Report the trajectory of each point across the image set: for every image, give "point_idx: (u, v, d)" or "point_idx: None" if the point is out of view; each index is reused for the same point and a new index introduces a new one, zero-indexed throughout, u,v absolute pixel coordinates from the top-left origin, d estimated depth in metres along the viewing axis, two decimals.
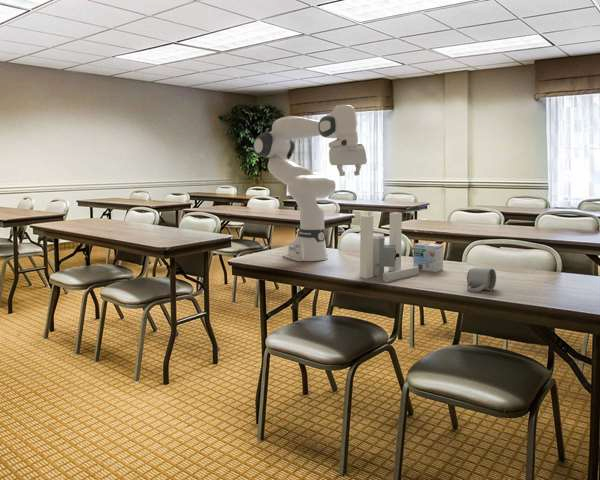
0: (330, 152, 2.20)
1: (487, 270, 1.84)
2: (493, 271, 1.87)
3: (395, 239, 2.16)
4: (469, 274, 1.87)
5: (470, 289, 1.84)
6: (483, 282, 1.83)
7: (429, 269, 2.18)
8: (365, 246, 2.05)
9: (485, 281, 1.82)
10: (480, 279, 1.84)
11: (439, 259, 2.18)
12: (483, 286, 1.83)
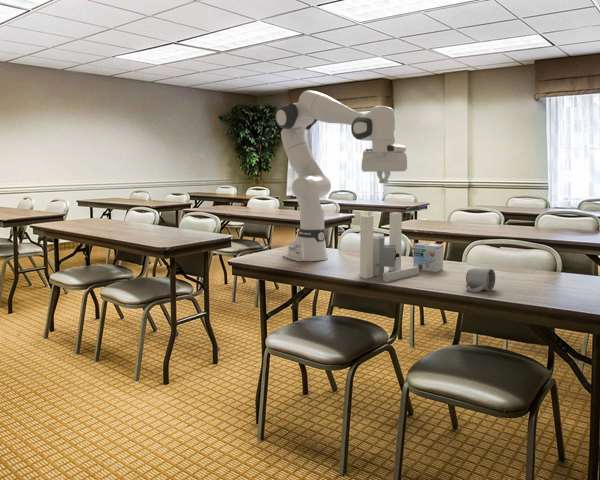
0: (401, 157, 2.01)
1: (486, 270, 1.83)
2: (492, 271, 1.86)
3: (395, 239, 2.16)
4: (468, 274, 1.87)
5: (469, 289, 1.83)
6: (482, 282, 1.82)
7: (429, 269, 2.18)
8: (365, 246, 2.05)
9: (484, 281, 1.82)
10: (479, 279, 1.83)
11: (439, 259, 2.18)
12: (482, 286, 1.82)
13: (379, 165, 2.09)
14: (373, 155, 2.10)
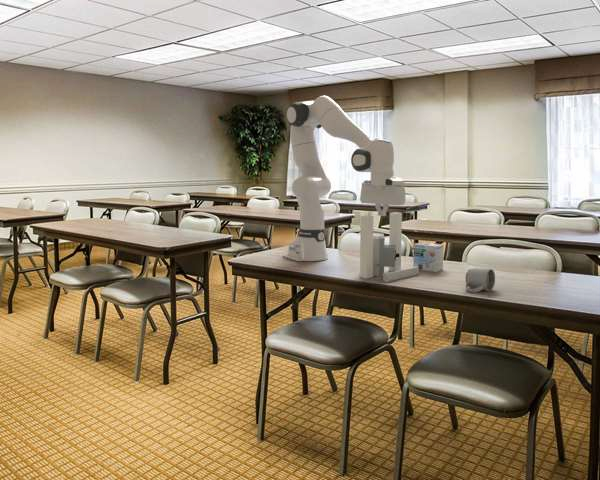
0: (399, 191, 2.02)
1: (486, 271, 1.83)
2: (492, 271, 1.86)
3: (395, 239, 2.16)
4: (468, 275, 1.86)
5: (469, 290, 1.83)
6: (482, 283, 1.82)
7: (429, 269, 2.18)
8: (365, 246, 2.05)
9: (484, 282, 1.82)
10: (479, 280, 1.83)
11: (439, 259, 2.18)
12: (482, 287, 1.82)
13: (377, 197, 2.09)
14: (372, 187, 2.11)
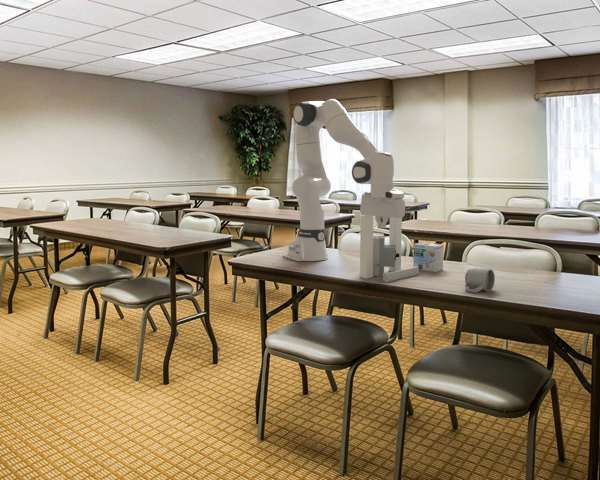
0: (399, 204, 2.02)
1: (485, 271, 1.83)
2: (491, 272, 1.86)
3: (395, 239, 2.16)
4: (467, 275, 1.86)
5: (468, 290, 1.83)
6: (481, 283, 1.82)
7: (429, 269, 2.18)
8: (365, 246, 2.05)
9: (483, 282, 1.81)
10: (478, 280, 1.83)
11: (439, 259, 2.18)
12: (481, 287, 1.82)
13: (377, 210, 2.10)
14: (372, 199, 2.11)
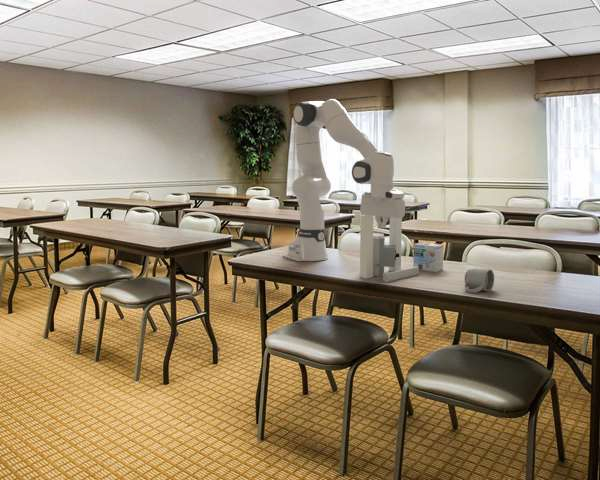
0: (399, 204, 2.02)
1: (485, 271, 1.82)
2: (491, 272, 1.85)
3: (395, 239, 2.16)
4: (467, 275, 1.86)
5: (468, 290, 1.82)
6: (481, 283, 1.82)
7: (429, 269, 2.18)
8: (365, 246, 2.05)
9: (483, 282, 1.81)
10: (478, 280, 1.82)
11: (439, 259, 2.18)
12: (481, 287, 1.81)
13: (377, 210, 2.10)
14: (372, 199, 2.11)
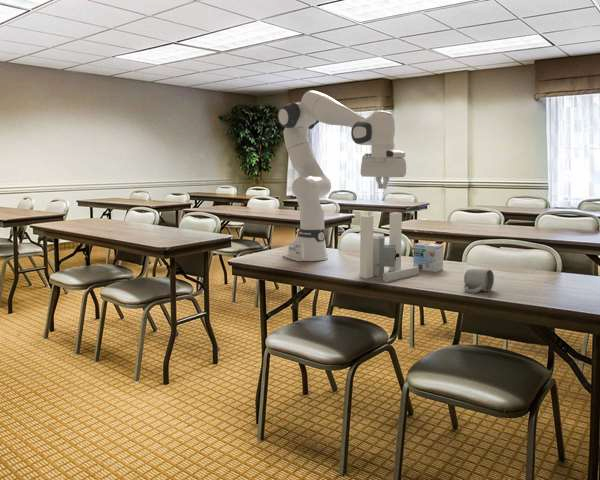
0: (400, 163, 2.00)
1: (484, 271, 1.82)
2: (491, 272, 1.85)
3: (395, 239, 2.16)
4: (466, 275, 1.85)
5: (467, 290, 1.82)
6: (480, 283, 1.81)
7: (429, 269, 2.18)
8: (365, 246, 2.05)
9: (482, 282, 1.81)
10: (477, 280, 1.82)
11: (439, 259, 2.18)
12: (480, 287, 1.81)
13: (378, 170, 2.08)
14: (372, 160, 2.09)
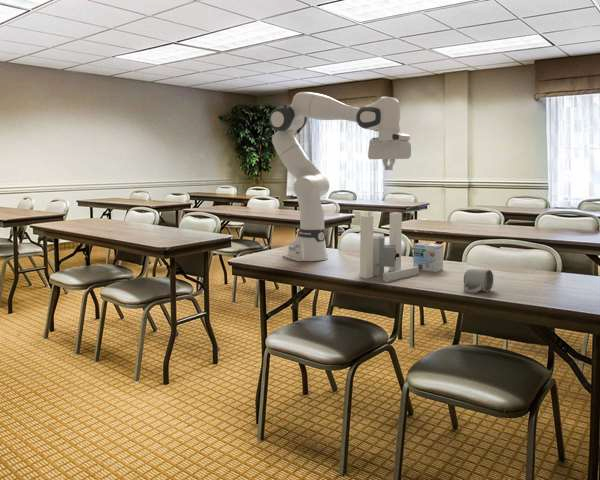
0: (405, 145, 2.14)
1: (484, 271, 1.82)
2: (490, 272, 1.85)
3: (395, 239, 2.16)
4: (466, 275, 1.85)
5: (467, 290, 1.82)
6: (480, 283, 1.81)
7: (429, 269, 2.18)
8: (365, 246, 2.05)
9: (482, 282, 1.81)
10: (477, 280, 1.82)
11: (439, 259, 2.18)
12: (480, 287, 1.81)
13: (384, 153, 2.22)
14: (379, 143, 2.23)
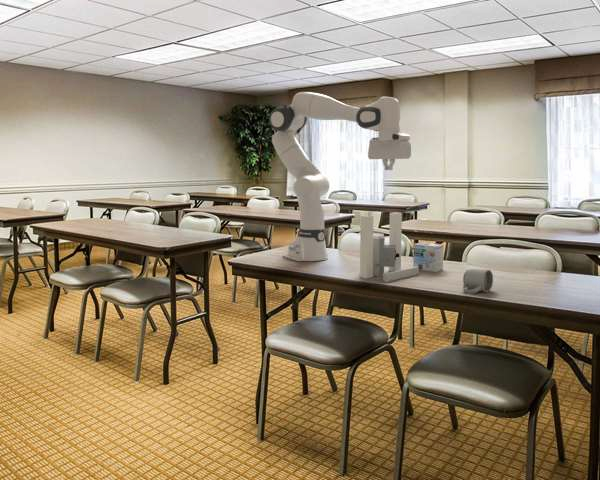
0: (405, 145, 2.14)
1: (483, 271, 1.82)
2: (490, 272, 1.84)
3: (395, 239, 2.16)
4: (465, 275, 1.85)
5: (466, 290, 1.82)
6: (479, 283, 1.81)
7: (429, 269, 2.18)
8: (365, 246, 2.05)
9: (481, 282, 1.80)
10: (476, 280, 1.82)
11: (439, 259, 2.18)
12: (479, 287, 1.81)
13: (384, 152, 2.22)
14: (379, 143, 2.23)
